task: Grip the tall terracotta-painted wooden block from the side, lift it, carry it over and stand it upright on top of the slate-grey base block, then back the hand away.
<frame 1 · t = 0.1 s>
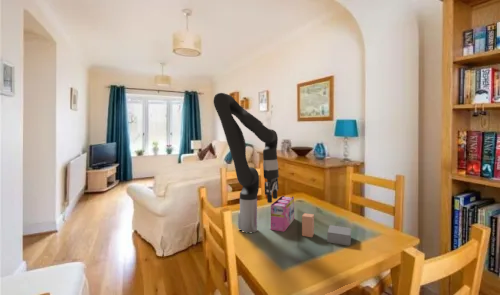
hand: (272, 200, 124), 17 cm above the table, tool pointing down, fingers open, 8 cm apart
grey base block: (339, 240, 118), on the table
gum box: (283, 224, 140), on the table
terracotta block: (308, 234, 125), on the table
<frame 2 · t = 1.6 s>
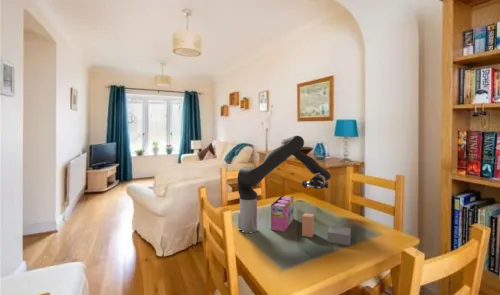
hand: (313, 186, 134), 22 cm above the table, tool horizontal, fingers open, 8 cm apart
nothing on the table moved.
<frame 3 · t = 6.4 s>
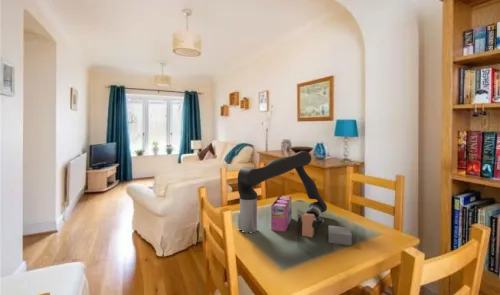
hand: (307, 224, 122), 6 cm above the table, tool horizontal, fingers closed on terracotta block, 5 cm apart
terracotta block: (308, 234, 125), on the table, touching gripper
when the fingers open (12 cm above the table, at t = 11.0 s): terracotta block drops 2 cm, resting on grey base block.
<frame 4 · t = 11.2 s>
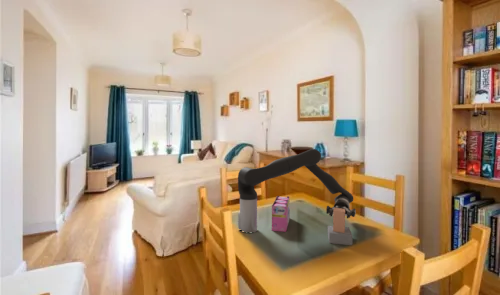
hand: (339, 215, 116), 12 cm above the table, tool horizontal, fingers open, 6 cm apart
grey base block: (339, 240, 118), on the table, touching terracotta block
terracotta block: (339, 230, 118), point 5 cm above the table, touching grey base block
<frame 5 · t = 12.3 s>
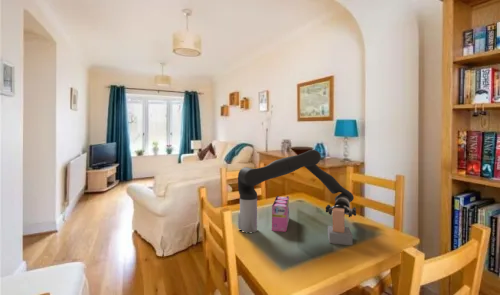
hand: (339, 214, 118), 13 cm above the table, tool horizontal, fingers open, 8 cm apart
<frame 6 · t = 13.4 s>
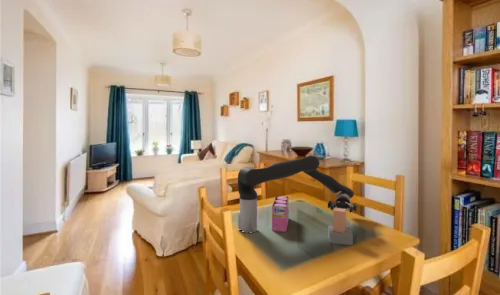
hand: (341, 209, 125), 13 cm above the table, tool horizontal, fingers open, 8 cm apart
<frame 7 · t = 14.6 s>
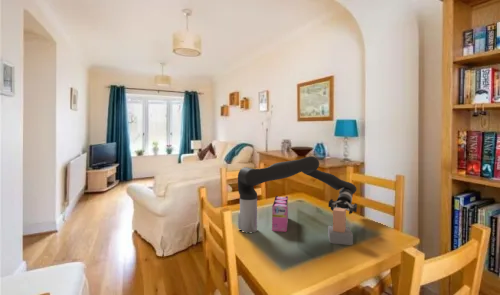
hand: (341, 210, 127), 11 cm above the table, tool horizontal, fingers open, 8 cm apart
grey base block: (339, 240, 118), on the table
terracotta block: (339, 230, 118), point 5 cm above the table
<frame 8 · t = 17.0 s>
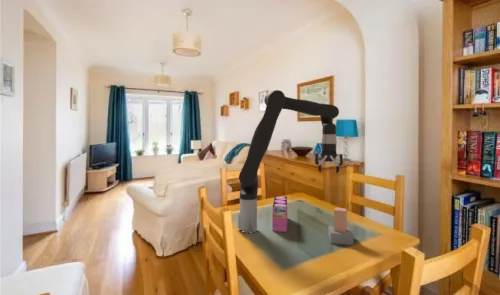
hand: (328, 172, 134), 30 cm above the table, tool pointing down, fingers open, 8 cm apart
grey base block: (340, 240, 118), on the table, touching terracotta block
terracotta block: (340, 229, 119), point 5 cm above the table, touching grey base block
at the end: terracotta block 0.1 cm off-centre on the grey base block, point 5.0 cm above the grey base block's base; terracotta block tilted 1°; the gripper is holding nothing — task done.
